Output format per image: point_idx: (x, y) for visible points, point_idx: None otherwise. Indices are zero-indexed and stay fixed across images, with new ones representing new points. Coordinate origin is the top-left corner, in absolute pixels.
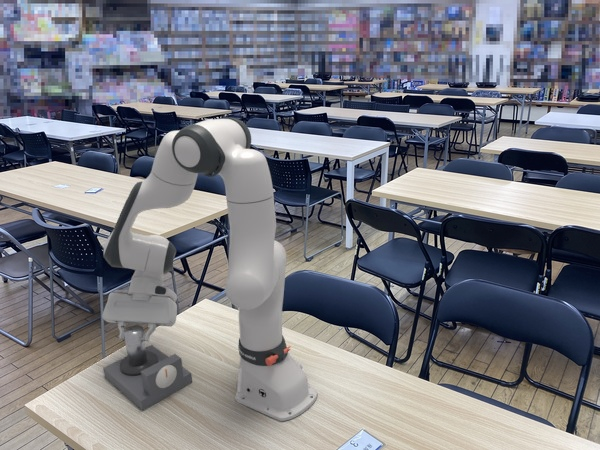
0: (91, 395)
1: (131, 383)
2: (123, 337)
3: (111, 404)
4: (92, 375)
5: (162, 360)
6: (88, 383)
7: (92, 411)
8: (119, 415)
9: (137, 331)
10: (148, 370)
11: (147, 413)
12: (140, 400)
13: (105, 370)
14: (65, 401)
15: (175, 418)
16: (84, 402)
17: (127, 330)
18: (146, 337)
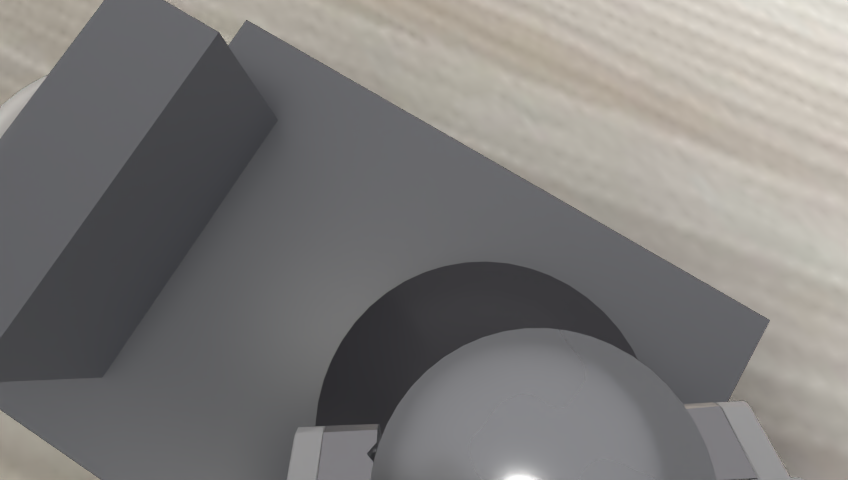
0: (692, 135)
1: (415, 181)
2: None
3: (504, 83)
4: (841, 336)
5: (66, 240)
6: (803, 245)
7: (585, 8)
8: (397, 8)
9: (445, 473)
10: (147, 59)
11: None
12: (253, 25)
13: (730, 299)
14: (824, 53)
15: (44, 48)
16: (692, 68)
17: (653, 477)
18: (298, 453)
